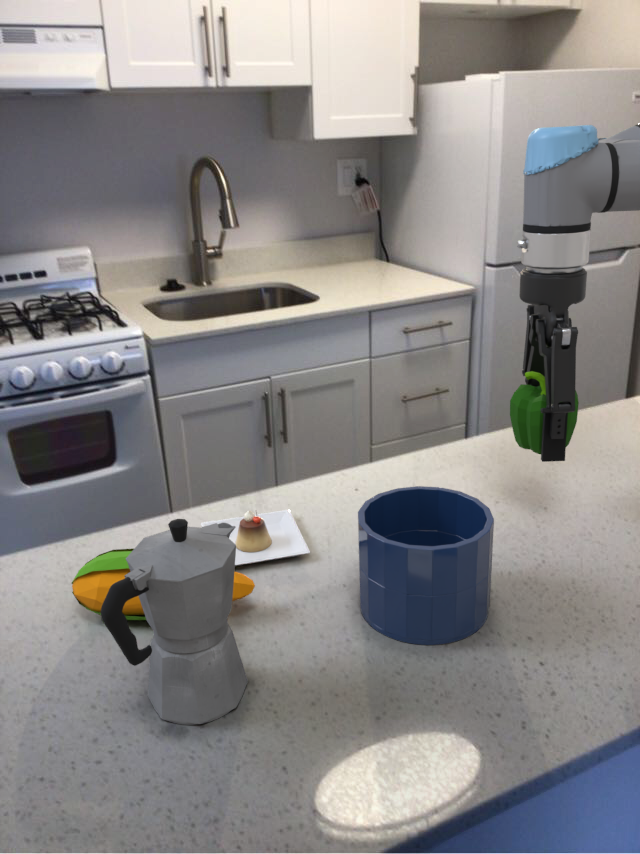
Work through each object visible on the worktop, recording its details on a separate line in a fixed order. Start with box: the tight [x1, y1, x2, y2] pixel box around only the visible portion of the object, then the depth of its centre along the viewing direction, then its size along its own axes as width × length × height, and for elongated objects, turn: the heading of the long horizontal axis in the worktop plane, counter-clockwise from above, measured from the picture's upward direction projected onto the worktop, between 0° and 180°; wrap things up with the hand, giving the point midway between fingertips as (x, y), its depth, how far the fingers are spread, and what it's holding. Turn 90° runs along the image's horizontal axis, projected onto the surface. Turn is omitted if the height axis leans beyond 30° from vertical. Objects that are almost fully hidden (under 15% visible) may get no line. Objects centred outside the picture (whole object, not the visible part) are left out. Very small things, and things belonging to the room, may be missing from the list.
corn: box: [70, 547, 256, 621], centre depth 82 cm, size 7×8×20 cm
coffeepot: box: [100, 518, 249, 726], centre depth 67 cm, size 15×9×18 cm, turn 145°
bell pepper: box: [509, 371, 580, 455], centre depth 95 cm, size 8×8×10 cm
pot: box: [357, 485, 495, 646], centre depth 80 cm, size 14×14×11 cm
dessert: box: [200, 508, 311, 567], centre depth 95 cm, size 12×12×5 cm
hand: (543, 446), depth 97 cm, fingers closed on bell pepper, 8 cm apart
